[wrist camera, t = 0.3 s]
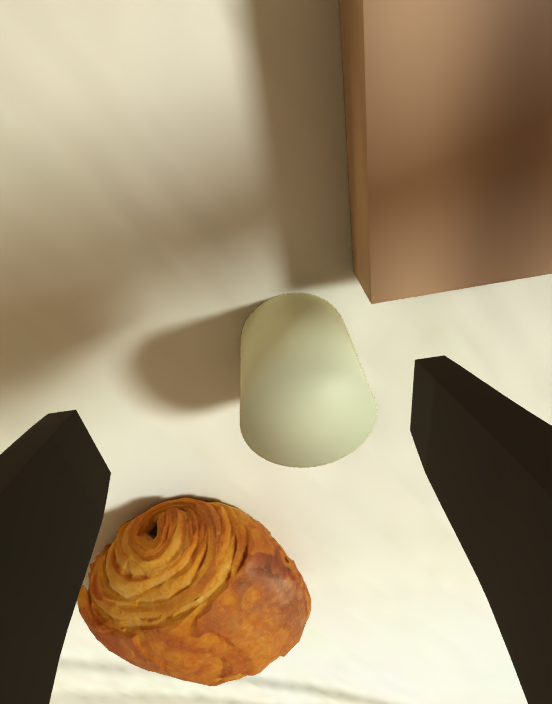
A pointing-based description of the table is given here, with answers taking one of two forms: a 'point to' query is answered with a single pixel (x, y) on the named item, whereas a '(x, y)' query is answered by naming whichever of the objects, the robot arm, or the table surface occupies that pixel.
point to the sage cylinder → (302, 384)
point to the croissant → (196, 593)
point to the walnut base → (447, 142)
